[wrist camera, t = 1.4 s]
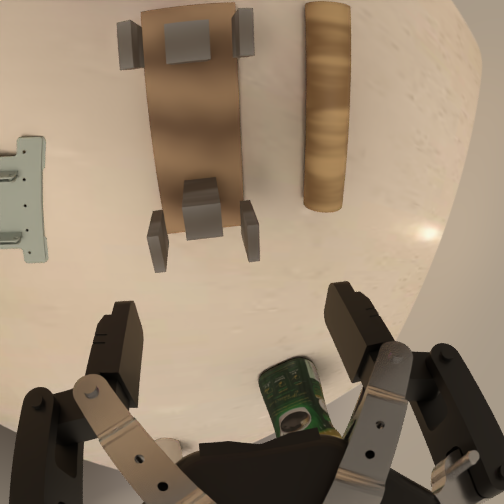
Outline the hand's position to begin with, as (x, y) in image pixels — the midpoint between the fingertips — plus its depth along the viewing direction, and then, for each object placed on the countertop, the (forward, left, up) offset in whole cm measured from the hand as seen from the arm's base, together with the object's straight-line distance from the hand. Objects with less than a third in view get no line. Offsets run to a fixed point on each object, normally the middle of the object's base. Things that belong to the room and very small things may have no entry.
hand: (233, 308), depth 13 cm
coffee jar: (+36, +9, -21) cm, 42 cm away
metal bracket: (0, -25, -21) cm, 32 cm away
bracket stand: (-4, -1, -20) cm, 21 cm away
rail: (-5, +11, -21) cm, 24 cm away
